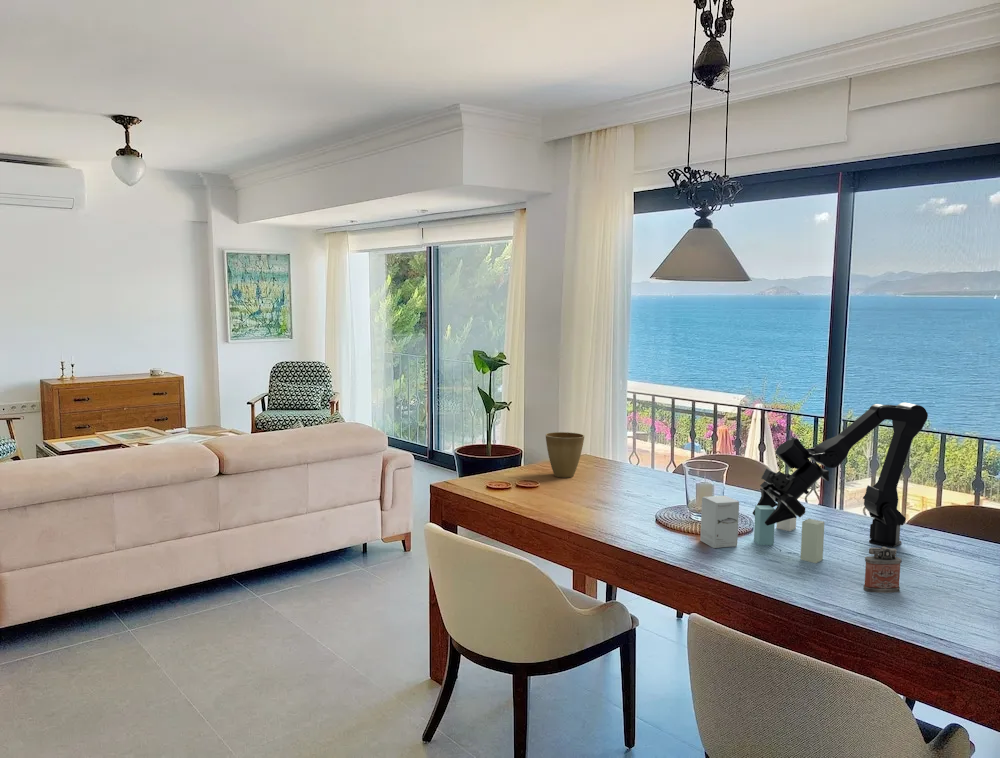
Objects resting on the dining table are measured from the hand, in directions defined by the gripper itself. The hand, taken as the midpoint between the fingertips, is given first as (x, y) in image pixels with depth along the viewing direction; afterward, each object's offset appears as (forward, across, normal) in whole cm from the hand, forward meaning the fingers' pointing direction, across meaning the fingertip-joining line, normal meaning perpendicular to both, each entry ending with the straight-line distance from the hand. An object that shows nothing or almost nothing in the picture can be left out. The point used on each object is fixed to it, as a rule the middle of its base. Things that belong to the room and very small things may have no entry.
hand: (759, 519), depth 203 cm
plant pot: (+37, -82, -27) cm, 94 cm away
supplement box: (+13, +1, -3) cm, 13 cm away
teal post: (+4, 0, +6) cm, 7 cm away
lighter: (-6, +34, +16) cm, 39 cm away
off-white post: (-5, -14, +14) cm, 20 cm away
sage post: (-2, +14, +11) cm, 18 cm away
